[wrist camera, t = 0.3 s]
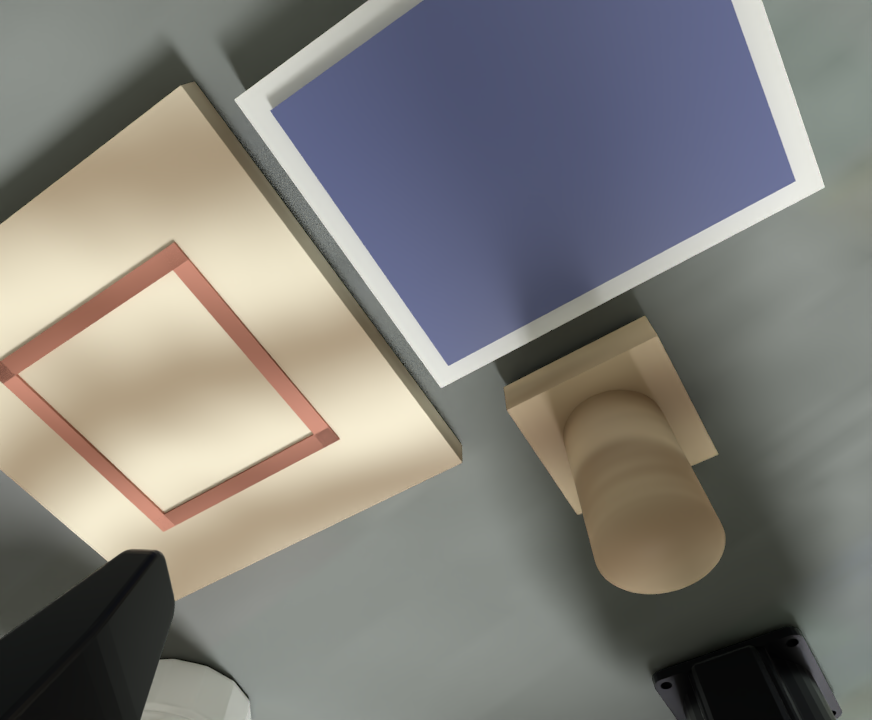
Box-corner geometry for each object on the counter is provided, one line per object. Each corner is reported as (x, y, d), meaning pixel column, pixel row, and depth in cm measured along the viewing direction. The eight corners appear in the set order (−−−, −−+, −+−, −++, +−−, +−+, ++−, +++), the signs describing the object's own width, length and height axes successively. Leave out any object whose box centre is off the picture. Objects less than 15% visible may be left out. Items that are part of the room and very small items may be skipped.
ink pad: (802, 176, 18) (830, 190, 17) (441, 369, 21) (440, 393, 20) (665, -216, 14) (687, -238, 13) (247, 94, 17) (230, 101, 16)
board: (462, 445, 23) (462, 464, 22) (171, 587, 26) (160, 609, 26) (194, 81, 17) (179, 85, 16) (-126, 326, 21) (-153, 341, 20)
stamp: (699, 422, 22) (790, 574, 16) (569, 481, 24) (609, 641, 18) (641, 310, 20) (720, 435, 14) (502, 381, 22) (522, 522, 16)
